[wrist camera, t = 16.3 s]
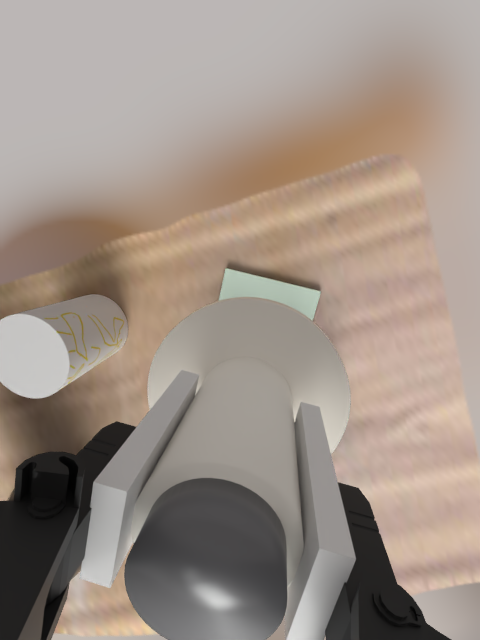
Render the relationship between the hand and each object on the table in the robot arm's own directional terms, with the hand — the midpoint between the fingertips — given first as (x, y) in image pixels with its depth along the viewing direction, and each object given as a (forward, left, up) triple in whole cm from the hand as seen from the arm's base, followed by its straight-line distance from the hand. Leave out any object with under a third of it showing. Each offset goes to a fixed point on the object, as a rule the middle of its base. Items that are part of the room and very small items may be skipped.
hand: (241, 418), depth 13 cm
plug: (0, 0, -7) cm, 7 cm away
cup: (-20, -8, -27) cm, 34 cm away
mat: (0, 0, -26) cm, 26 cm away
